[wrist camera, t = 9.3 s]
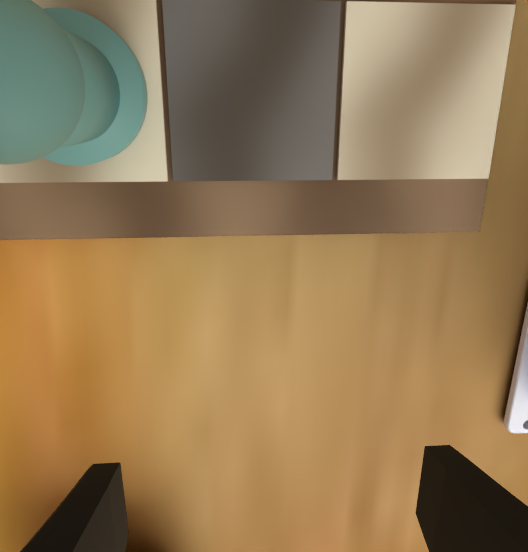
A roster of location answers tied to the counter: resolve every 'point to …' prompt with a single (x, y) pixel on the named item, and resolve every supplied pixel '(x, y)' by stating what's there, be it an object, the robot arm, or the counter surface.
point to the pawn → (65, 87)
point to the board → (286, 122)
